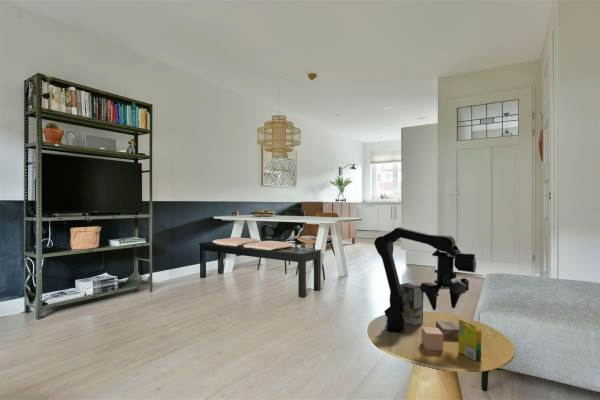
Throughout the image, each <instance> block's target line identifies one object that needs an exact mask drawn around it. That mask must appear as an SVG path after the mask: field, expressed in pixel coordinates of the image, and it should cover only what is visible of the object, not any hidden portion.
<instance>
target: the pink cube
mask: <svg viewBox="0 0 600 400" xmlns="http://www.w3.org/2000/svg"><path fill="white" fill-rule="evenodd" d="M421 344H422V346H423V347H424V349H425V350H426V351H427V350H428V351H444V338H443V333H442V332H441V331H440V330H439V328H436V327H427V326H426V327H425V326H424V327H423V326H422V327H421Z"/></svg>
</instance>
